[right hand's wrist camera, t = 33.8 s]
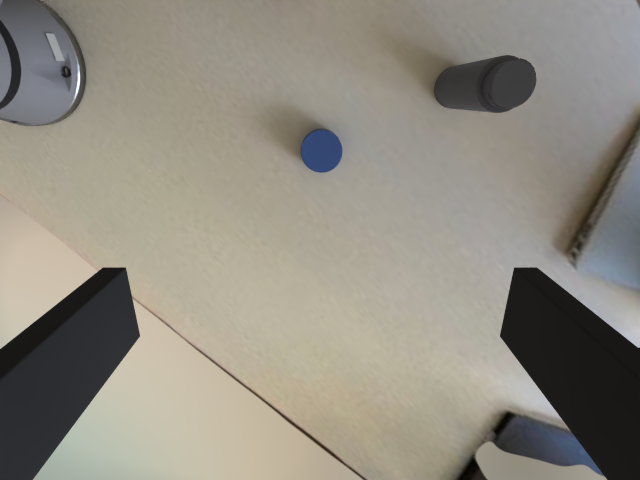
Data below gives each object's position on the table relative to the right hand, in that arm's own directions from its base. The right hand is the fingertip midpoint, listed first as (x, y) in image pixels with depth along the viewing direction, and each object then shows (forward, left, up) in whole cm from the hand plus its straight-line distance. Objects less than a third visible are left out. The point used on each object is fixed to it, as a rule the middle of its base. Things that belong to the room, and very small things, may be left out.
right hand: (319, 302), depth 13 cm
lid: (0, 0, -39) cm, 39 cm away
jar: (+3, +19, -41) cm, 45 cm away
